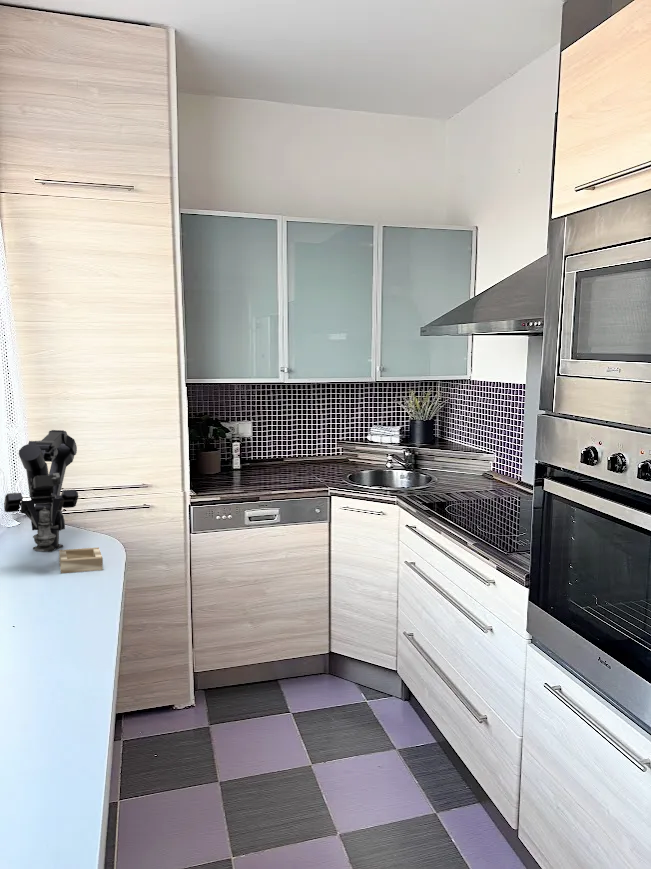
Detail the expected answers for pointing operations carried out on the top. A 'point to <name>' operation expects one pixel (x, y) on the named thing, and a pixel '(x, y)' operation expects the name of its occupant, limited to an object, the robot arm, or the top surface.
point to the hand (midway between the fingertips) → (45, 526)
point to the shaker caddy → (80, 560)
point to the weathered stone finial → (44, 532)
